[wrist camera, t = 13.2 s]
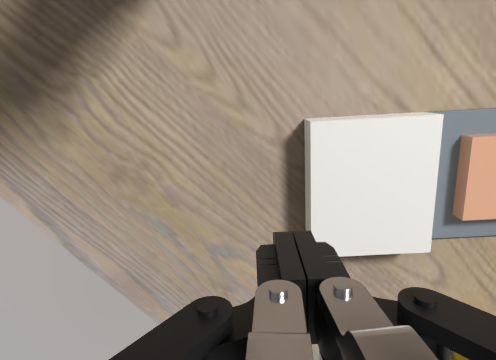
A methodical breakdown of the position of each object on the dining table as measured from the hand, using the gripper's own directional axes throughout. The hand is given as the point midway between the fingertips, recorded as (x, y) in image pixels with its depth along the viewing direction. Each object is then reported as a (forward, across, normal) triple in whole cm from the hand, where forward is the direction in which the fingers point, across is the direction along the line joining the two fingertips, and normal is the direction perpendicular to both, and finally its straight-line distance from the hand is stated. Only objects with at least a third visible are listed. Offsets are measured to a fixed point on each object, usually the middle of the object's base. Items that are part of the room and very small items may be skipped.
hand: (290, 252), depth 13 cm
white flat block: (+27, -12, +5) cm, 30 cm away
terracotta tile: (+24, -27, +5) cm, 37 cm away
